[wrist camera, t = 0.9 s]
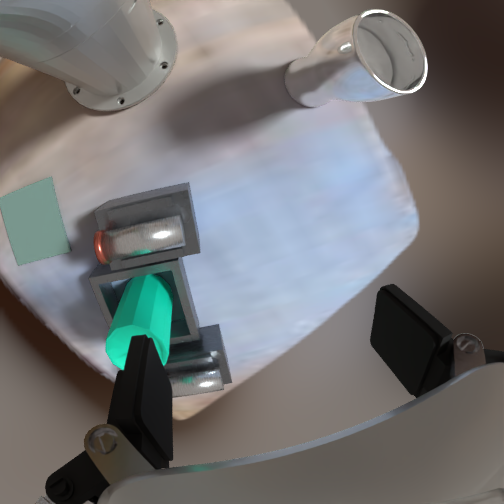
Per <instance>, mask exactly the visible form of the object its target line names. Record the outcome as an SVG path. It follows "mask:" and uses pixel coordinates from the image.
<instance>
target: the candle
mask: <svg viewBox="0 0 504 504" xmlns="http://www.w3.org/2000/svg"><path fill="white" fill-rule="evenodd" d="M172 304H173V294H172V291H171V288H170V285H169V284H168V283H167V282H166V281H165V280H164V279H163V278H161V277H160V276H158V275H154V274H149V275H144V276H139V277H134V278H132V279H131V280H130V281H129V282H128V283H127V285H126V287H125V290H124V292H123V295H122V297H121V300H120V303H119V305H118V308H117V310H116V313H115V316H114V319H113V321H112V324H111V327H110V330H109V332H108V335H107V338H106V353H107V355H108V356H109V358H110V360H111V362H112V363H113V364H114V365H116V366H117V367H119V368H120V369H122V370H124V366H125V361H126V357H127V353H128V348H129V344H130V340H131V337H132V336H136V335H144V334H146V335H147V337H148V338H150V337H151V338H152V339H153V341H154V344H155V346H156V349H157V351H158V354H159V356H160V359H161V361H162V364H163V366H164V365H165V364H166V362H167V359H168V356H169V344H170V329H171V316H172Z"/></svg>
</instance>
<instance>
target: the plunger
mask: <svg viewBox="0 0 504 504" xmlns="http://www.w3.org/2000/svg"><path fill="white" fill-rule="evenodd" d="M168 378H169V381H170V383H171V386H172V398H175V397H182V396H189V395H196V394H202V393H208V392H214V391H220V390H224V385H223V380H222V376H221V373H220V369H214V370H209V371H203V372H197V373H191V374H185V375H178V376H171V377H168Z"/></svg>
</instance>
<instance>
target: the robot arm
mask: <svg viewBox="0 0 504 504" xmlns="http://www.w3.org/2000/svg"><path fill="white" fill-rule="evenodd" d="M160 23H162V25H159V24H160ZM176 55H177V39H176V34H175V31H174V28H173V26H172V25H171V23H170V22H169V20H168V19H167V18H166V17H164V16H163V15H162V14H161V13H159V12H157V11H155V10H153V9H152V8H151V4H150V1H149V0H0V57H3V58H6V59H9V60H12V61H15V62H17V63H19V64H22V65H25V66H28V67H30V68H33V69H35V70H38V71H41V72H43V73H46V74H48V75H51V76H53V77H56V78H58V79H60V80H63V81H65V85H66V87H67V90H68V92H69V93H70V95H71V96H72V97H73V98H74V99H75V100H76V101H77V102H78V103H79V104H81V105H83V106H85V107H87V108H90V109H93V110H98V111H105V112H106V111H117V110H122V109H126V108H129V107H131V106H134V105H136V104H138V103H140V102H141V101H143V100H145V99H146V98H148V97H149V96H150V95H151V94H153V93H154V92H155V91H156V90H157V89H158V88H159V87H160V86H161V85H162V84H163V83H164V82H165V80H166V78H167V77H168V75H169V74H170V72H171V70H172V68H173V66H174V63H175V60H176ZM163 66H167V68H166V69H162V67H163ZM79 90H80V92H79V94H78V91H79ZM122 100H124V104H121V101H122ZM451 336H452V332H451V331H450V330H449V329H447V328H446V327H445V326H444V325H443V324H442V323H440V322H439V321H438V320H437V319H436V318H435V317H434V316H432V315H431V314H430V313H429V312H428V311H426V310H425V309H424V308H423V307H422V306H420V305H419V304H418V303H417V302H416V301H414V300H413V299H412V298H411V297H410V296H408V295H407V294H406V293H405V292H403V291H402V290H401V289H400V288H398V287H397V286H396V285H394V284H390V285H386V286H383V287H381V288H380V291H378V293H377V299H376V306H375V314H374V319H373V326H372V332H371V338H370V342H371V345H372V347H373V348H374V349H375V351H376V352H377V353H378V354H379V355H380V357H381V358H382V359H383V361H384V362H385V363H386V364H387V366H388V367H389V368H390V369H391V370H392V372H393V373H394V374H395V376H396V377H397V378H398V379H399V381H400V382H401V383H402V384H403V386H404V387H405V388H406V389H407V391H408V392H409V393H410V394H411V395H414V396H415V397H416V399H414V400H413V401H410V402H408V403H406V404H404V405H402V406H400V407H398V408H396V409H394V410H392V411H390V412H387V413H385V414H383V415H381V416H378V417H376V418H374V419H371V420H369V421H367V422H364V423H362V424H359V425H356V426H354V427H351V428H349V429H346V430H343V431H341V432H338V433H335V434H332V435H329V436H326V437H323V438H320V439H316V440H313V441H310V442H307V443H303V444H300V445H296V446H292V447H289V448H285V449H281V450H277V451H272V452H268V453H264V454H260V455H254V456H249V457H244V458H239V459H232V460H226V461H220V462H214V463H207V464H198V465H188V466H182V467H173V468H169V461H172V460H173V432H172V386H171V383H170V381H169V378H168V376H167V374H166V371H165V369H164V366H163V364H162V361H161V359H160V356H159V354H158V351H157V349H156V346H155V344H154V341H153V339H152V338H151V337H150V338H148V337H147V335H146V334H144V335H136V336H132V337H131V340H130V344H129V348H128V353H127V357H126V361H125V366H124V370H119V371H118V373H117V376H116V381H115V386H114V390H113V395H112V399H111V405H110V409H109V415H108V420H107V424H101V425H97V426H95V427H93V428H92V429H91V430H89V431H88V433H87V434H86V436H85V439H84V447H85V449H86V450H85V451H84V452H82V453H81V454H79V455H78V456H77V457H75V458H74V459H72V460H71V461H70V462H68V463H67V464H65V465H64V466H63V467H61V468H60V469H58V470H57V471H56V472H54V473H53V474H51V475H50V476H49V477H48V479H47V481H46V486H45V489H46V496H45V497H42V496H41V497H40V498H39V499H38V501H37V502H36V503H35V504H504V352H502V351H495V350H488V349H483V345H482V342H481V341H480V340H479V339H478V338H477V337H476V336H473V335H471V334H467V333H465V334H463V333H462V334H459V335H457V336H456V337H455V338H454V340H453V339H452V338H451ZM161 468H165V469H161Z"/></svg>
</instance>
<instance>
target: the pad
mask: <svg viewBox="0 0 504 504" xmlns="http://www.w3.org/2000/svg"><path fill="white" fill-rule="evenodd" d="M0 208H1V212H2V216H3V219H4V223H5V226H6V230H7V233H8V237H9V240H10V243H11V246H12V249H13V252H14V255H15V258H16V260H17V263H18V266H19V265H22V264H26V263H30V262H33V261H37V260H41V259H45V258H49V257H53V256H56V255H60V254H64V253H68V252H71V248H70V245H69V242H68V239H67V235H66V232H65V229H64V225H63V222H62V218H61V214H60V210H59V207H58V203H57V198H56V194H55V190H54V185H53V180H52V177H49V178H46V179H44V180H41V181H38V182H36V183H33V184H31V185H28V186H26V187H24V188H21V189H19V190H17V191H14V192H12V193H10V194H8V195H5V196H3V197H1V198H0Z"/></svg>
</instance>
